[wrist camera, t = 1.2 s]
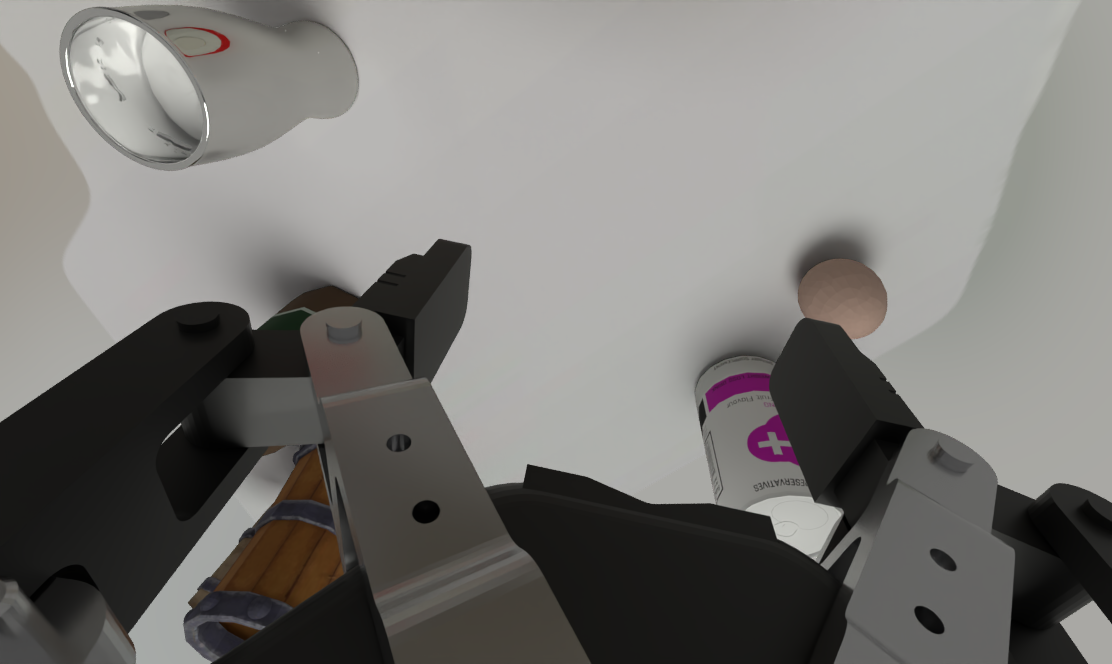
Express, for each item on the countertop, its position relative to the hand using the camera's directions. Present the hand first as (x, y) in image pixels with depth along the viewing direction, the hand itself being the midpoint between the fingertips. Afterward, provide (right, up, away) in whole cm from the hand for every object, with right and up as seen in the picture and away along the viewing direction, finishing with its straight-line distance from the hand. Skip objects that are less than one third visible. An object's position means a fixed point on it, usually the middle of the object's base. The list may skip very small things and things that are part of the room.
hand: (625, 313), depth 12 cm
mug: (-27, -17, +46) cm, 56 cm away
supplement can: (+15, -6, +33) cm, 36 cm away
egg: (+19, +4, +26) cm, 33 cm away
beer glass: (-19, +18, +22) cm, 34 cm away
